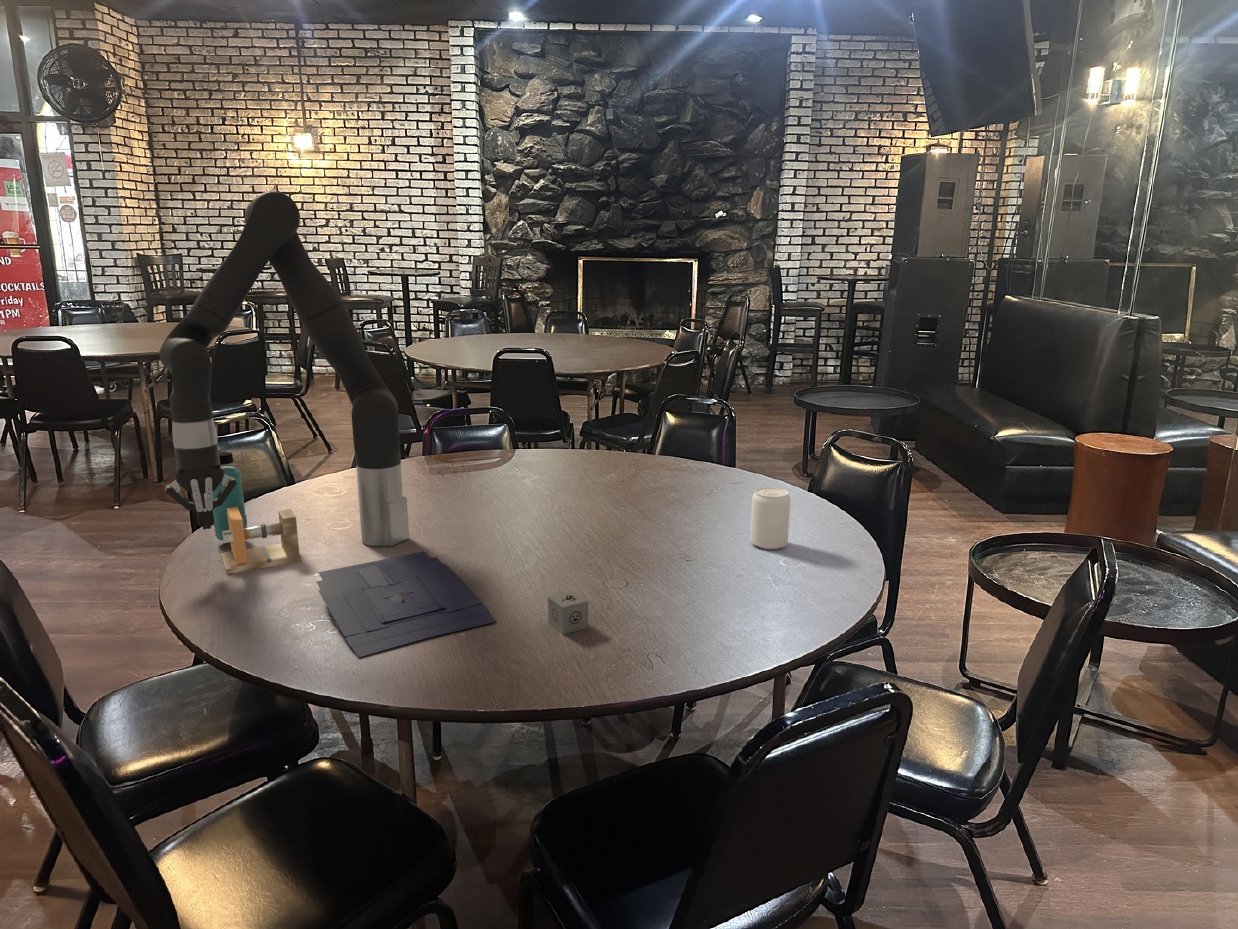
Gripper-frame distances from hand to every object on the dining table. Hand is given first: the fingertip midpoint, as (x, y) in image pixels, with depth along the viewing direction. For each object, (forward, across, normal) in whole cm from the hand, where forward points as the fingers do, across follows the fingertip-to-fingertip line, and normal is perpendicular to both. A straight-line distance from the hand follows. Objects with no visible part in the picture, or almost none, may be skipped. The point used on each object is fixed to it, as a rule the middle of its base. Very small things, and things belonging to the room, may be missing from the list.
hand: (206, 527), depth 165 cm
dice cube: (+9, -51, +57) cm, 77 cm away
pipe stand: (+8, -8, 0) cm, 12 cm away
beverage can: (+9, -107, +42) cm, 115 cm away
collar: (+7, -5, 0) cm, 9 cm away
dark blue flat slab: (+9, -28, +36) cm, 47 cm away
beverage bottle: (+9, -5, -14) cm, 17 cm away
